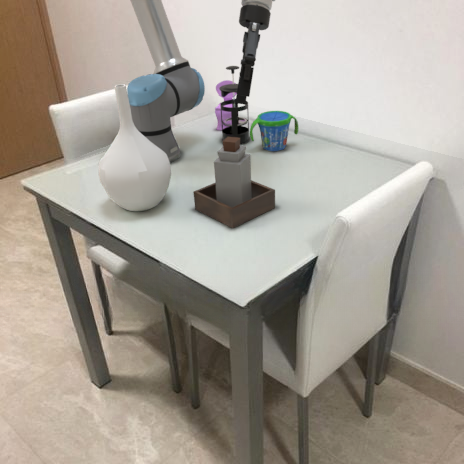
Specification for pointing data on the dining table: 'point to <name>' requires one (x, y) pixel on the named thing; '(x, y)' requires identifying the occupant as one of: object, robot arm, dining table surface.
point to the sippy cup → (274, 129)
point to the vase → (133, 164)
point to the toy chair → (218, 108)
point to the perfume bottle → (233, 173)
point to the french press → (234, 113)
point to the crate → (239, 214)
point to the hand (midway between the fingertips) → (241, 99)
